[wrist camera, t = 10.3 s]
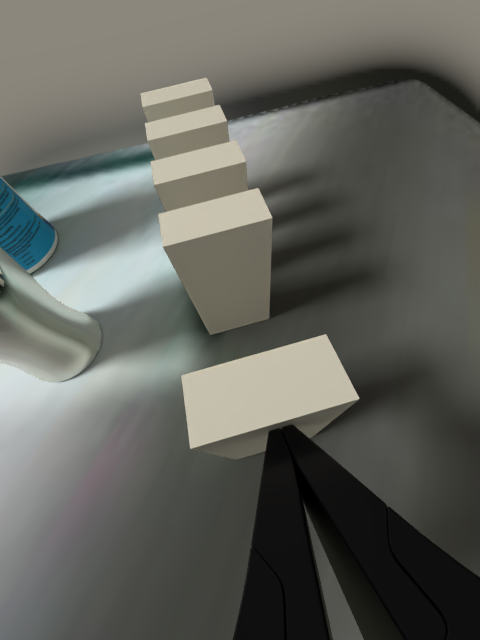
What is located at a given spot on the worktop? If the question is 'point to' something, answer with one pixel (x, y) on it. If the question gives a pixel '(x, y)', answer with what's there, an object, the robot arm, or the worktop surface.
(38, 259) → the beverage bottle
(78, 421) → the worktop surface
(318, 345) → the domino
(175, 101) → the domino
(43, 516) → the worktop surface
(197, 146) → the domino
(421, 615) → the robot arm
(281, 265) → the worktop surface
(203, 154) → the domino
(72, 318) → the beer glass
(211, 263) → the domino
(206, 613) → the worktop surface
